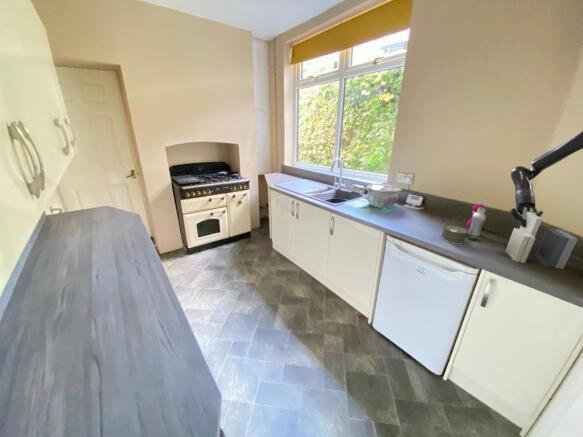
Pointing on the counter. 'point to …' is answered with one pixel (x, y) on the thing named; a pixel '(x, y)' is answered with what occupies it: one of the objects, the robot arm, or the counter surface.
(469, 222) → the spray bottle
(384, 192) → the chamber pot
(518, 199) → the robot arm
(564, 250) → the grey books
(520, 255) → the white books
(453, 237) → the can
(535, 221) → the white book
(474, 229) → the plastic bottle
